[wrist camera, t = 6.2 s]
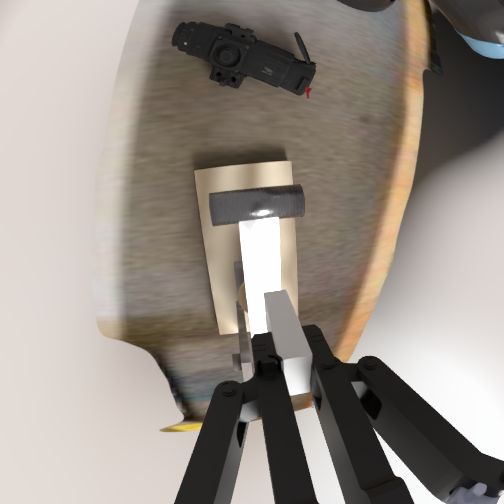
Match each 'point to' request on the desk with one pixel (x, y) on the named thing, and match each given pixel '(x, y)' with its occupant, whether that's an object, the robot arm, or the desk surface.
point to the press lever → (258, 236)
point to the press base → (229, 248)
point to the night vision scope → (245, 56)
